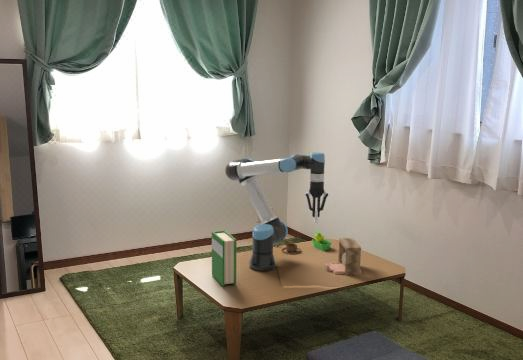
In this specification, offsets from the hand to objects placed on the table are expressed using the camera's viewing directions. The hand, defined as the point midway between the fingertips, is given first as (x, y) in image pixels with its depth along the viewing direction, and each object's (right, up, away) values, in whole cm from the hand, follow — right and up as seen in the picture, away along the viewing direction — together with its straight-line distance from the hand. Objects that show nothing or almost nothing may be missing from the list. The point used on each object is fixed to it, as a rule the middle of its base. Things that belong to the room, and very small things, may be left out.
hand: (315, 222), depth 286 cm
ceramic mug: (+17, -25, +4) cm, 31 cm away
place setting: (-13, -21, +37) cm, 45 cm away
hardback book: (-50, -29, -15) cm, 60 cm away
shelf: (+19, -27, +3) cm, 33 cm away
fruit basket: (+7, -20, +40) cm, 45 cm away
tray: (+15, -27, +3) cm, 31 cm away
